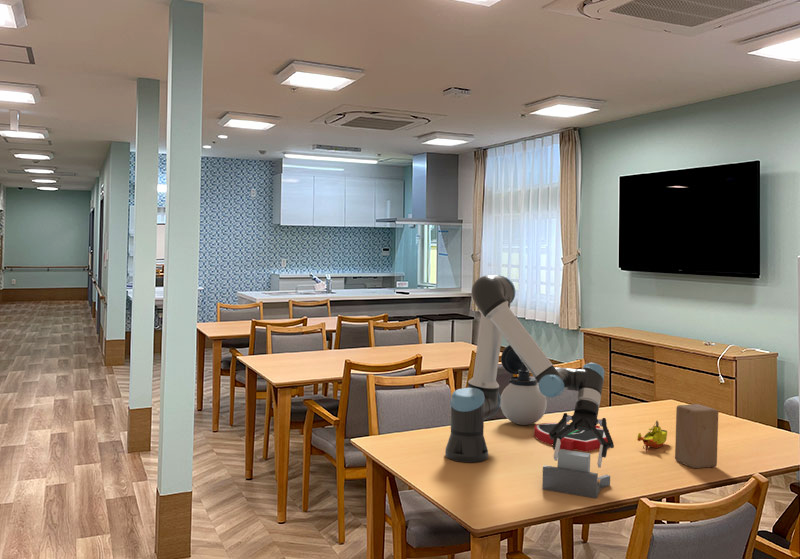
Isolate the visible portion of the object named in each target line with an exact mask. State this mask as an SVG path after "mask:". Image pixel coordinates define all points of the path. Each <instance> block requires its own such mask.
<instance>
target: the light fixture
mask: <svg viewBox="0 0 800 559" xmlns="http://www.w3.org/2000/svg"><path fill="white" fill-rule="evenodd" d="M500 362H501V366H502V367H503V369H504V370H505V371H506V372H508V373H509V374H511V375H518V376H512V377H511V378H510V380H508V385H507V386H505V388H504V389H503V390H502V392H501V395H500V397H501V404H500V409H501V412H502V414H503V415H504V416H505V418H507V420H509V421H510V422H511V423H514V424H516V425H519V426H520V425H521V426H528V425H532V424H535V423H537V422H538V421H540V420H541V419H542V418H543V417H544V415H545V413H546V410H547V404H548V402H547V397H546V396H544V395H543V394H542V393H541V392H540V389H539V383H538V382H537V380H536V379H535V378H534V377H532V376H530V373H531V372H530V371H529V370H528V368H527V367H526V366H525V364H524V363H523V362H522V360H521V359H520V358H519V356H518V355H517V354H516V352H515V351H514V350H513V348H512V347H511V346H510V345H507V346H506V347H505V348H504V349H503V350H502V353H501V356H500Z"/></svg>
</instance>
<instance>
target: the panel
mask: <svg viewBox="0 0 800 559" xmlns="http://www.w3.org/2000/svg"><path fill="white" fill-rule="evenodd" d="M557 467H559V468H566V469H572V470H579V471H585V472H591V452H585V451H579V450H572V451H571V450H565V449H559V452H558V459H557Z"/></svg>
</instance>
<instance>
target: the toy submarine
mask: <svg viewBox="0 0 800 559" xmlns="http://www.w3.org/2000/svg"><path fill="white" fill-rule="evenodd" d="M648 430H649V431H648V432H647V433H645V435H644V436H642V434H641V432H638V434H637V438H636V439H637V441H638V442H640V441H642V442H643V444H644V445H643V446H642V449H643V450H645V452H647V451H648V449H649V447H650V448H655V449H658V448H661V447H663V446H664V444H665V443H666V441H667V437H668V430H666V429H662V428H661V426H659V421H658V420H656V421H655V423H654V424H653V426H652V427H649V428H648Z"/></svg>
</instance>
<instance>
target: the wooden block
mask: <svg viewBox="0 0 800 559" xmlns="http://www.w3.org/2000/svg"><path fill="white" fill-rule="evenodd" d="M675 410H676V411H675V413H676V414H675V415H676V416H675V441H674V442H675V446H674V448H675V449H674V459H675V461H676V462H678V463H681V464H683V465H685V466H687V467H689V468H692V469H704V468H714V467H717V465H718V445H719V444H718V441H719V439H718V436H719V433H718V432H719V410H718V409H716V408H713V407H712V408H711V407H709V406H705V405H702V404H698V403H697V404H696V403H695V404H694V403H693V404H678V405H677V406H676V409H675Z"/></svg>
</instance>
